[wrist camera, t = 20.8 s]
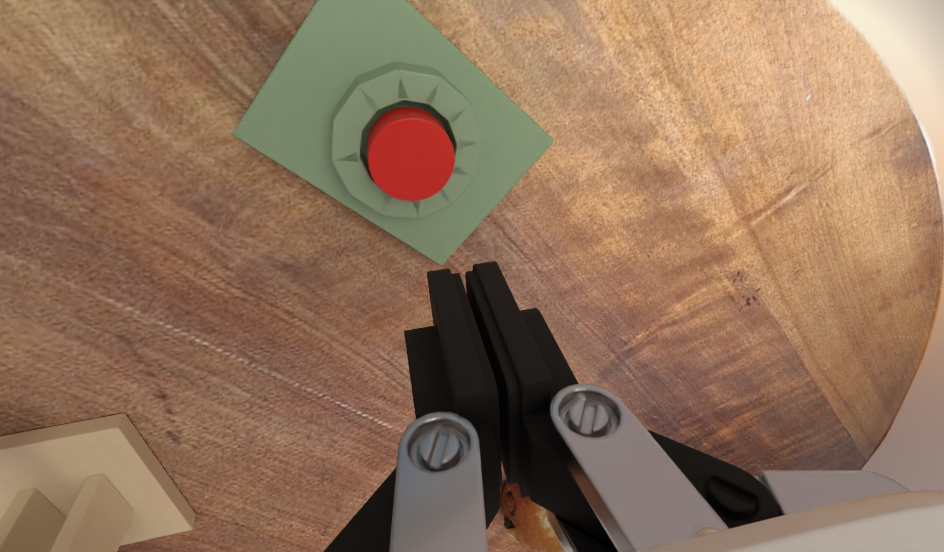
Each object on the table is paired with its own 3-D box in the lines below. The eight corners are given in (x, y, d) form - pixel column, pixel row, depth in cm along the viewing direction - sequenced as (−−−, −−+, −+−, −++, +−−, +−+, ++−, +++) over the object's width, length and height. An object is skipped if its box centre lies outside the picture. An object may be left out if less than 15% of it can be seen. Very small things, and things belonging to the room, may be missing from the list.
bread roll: (576, 464, 51) (640, 517, 45) (506, 537, 47) (565, 605, 41) (557, 409, 45) (628, 461, 39) (476, 487, 42) (539, 558, 36)
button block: (240, 120, 23) (222, 148, 19) (350, -52, 20) (351, -54, 17) (435, 247, 29) (447, 284, 25) (540, 128, 26) (568, 153, 23)
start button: (350, 155, 21) (350, 169, 19) (400, 87, 20) (404, 98, 18) (415, 200, 23) (419, 216, 21) (464, 141, 22) (472, 153, 20)
